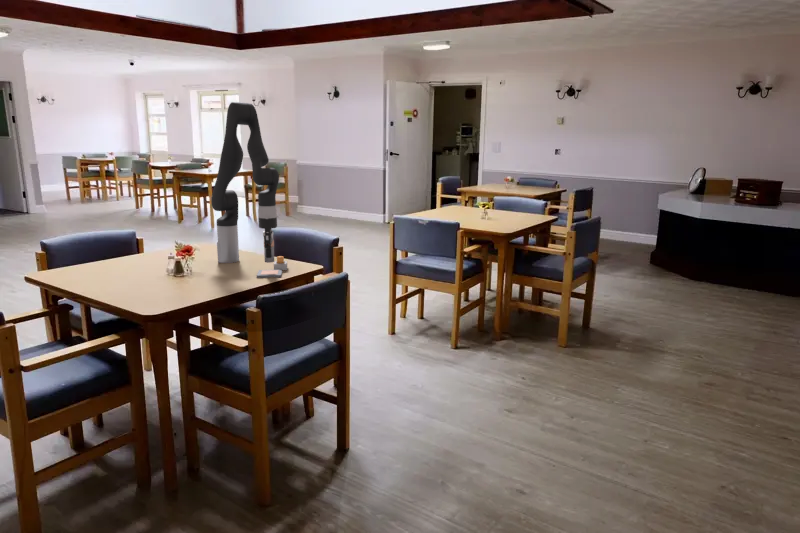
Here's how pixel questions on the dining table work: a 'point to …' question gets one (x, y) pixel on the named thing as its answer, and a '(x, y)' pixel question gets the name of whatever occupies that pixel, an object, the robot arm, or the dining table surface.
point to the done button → (280, 259)
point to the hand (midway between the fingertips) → (269, 256)
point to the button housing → (280, 266)
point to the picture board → (269, 273)
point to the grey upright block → (271, 253)
